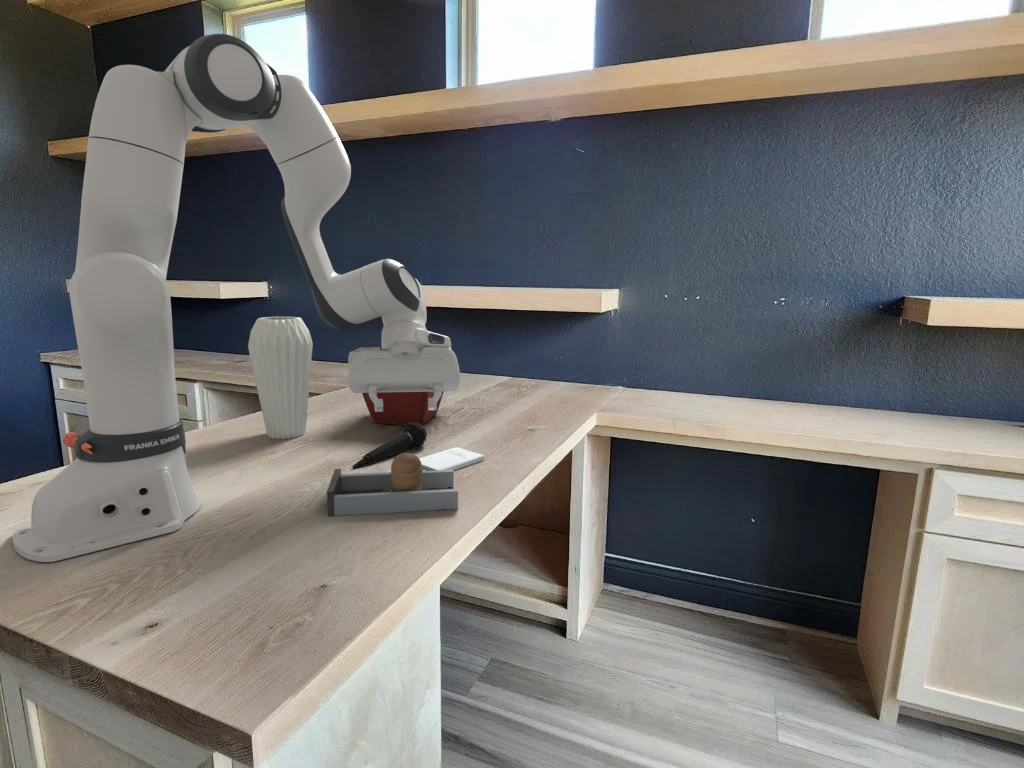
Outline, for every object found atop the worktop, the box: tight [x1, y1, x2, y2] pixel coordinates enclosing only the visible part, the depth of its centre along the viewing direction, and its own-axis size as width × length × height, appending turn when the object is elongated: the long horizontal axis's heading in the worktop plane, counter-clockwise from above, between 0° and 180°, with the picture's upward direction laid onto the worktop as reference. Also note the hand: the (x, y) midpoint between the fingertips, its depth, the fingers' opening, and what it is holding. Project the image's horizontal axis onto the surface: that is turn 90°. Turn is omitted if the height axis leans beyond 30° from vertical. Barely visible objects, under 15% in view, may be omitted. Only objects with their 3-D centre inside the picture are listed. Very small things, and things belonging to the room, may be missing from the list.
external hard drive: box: [418, 446, 485, 471], centre depth 112 cm, size 2×8×12 cm
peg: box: [390, 452, 423, 492], centre depth 93 cm, size 5×5×8 cm
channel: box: [326, 468, 459, 517], centre depth 93 cm, size 20×10×4 cm, turn 100°
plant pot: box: [361, 391, 445, 426], centre depth 142 cm, size 19×19×17 cm
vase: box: [247, 316, 314, 440], centre depth 126 cm, size 13×13×26 cm
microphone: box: [352, 422, 428, 469], centre depth 116 cm, size 6×6×20 cm
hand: (405, 409), depth 101 cm, fingers open, 8 cm apart
